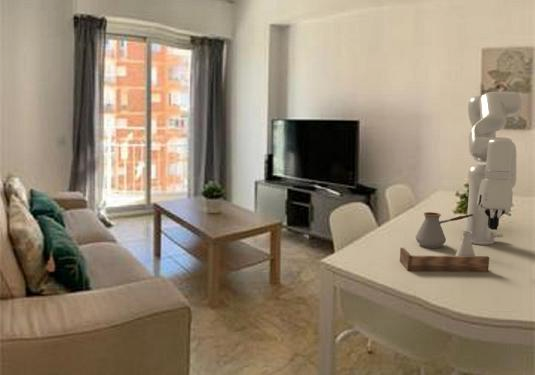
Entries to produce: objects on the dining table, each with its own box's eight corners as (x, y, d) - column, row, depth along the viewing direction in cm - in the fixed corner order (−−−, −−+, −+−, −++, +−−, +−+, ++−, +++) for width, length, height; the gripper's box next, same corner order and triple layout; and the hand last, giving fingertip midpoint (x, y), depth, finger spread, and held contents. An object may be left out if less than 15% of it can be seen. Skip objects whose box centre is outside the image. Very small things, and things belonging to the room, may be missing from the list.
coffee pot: (410, 246, 186) (413, 209, 184) (420, 239, 195) (422, 204, 193) (467, 256, 174) (470, 217, 171) (475, 249, 183) (478, 211, 180)
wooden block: (475, 261, 168) (476, 248, 167) (488, 271, 158) (489, 257, 157) (399, 261, 168) (400, 247, 167) (407, 270, 158) (408, 256, 157)
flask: (475, 257, 166) (477, 230, 164) (477, 264, 159) (479, 235, 157) (453, 255, 168) (455, 228, 166) (454, 261, 161) (456, 233, 160)
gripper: (513, 174, 162) (508, 226, 165) (470, 174, 162) (466, 225, 165) (525, 177, 155) (520, 231, 157) (480, 176, 155) (475, 231, 157)
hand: (492, 228), depth 161 cm, fingers closed
